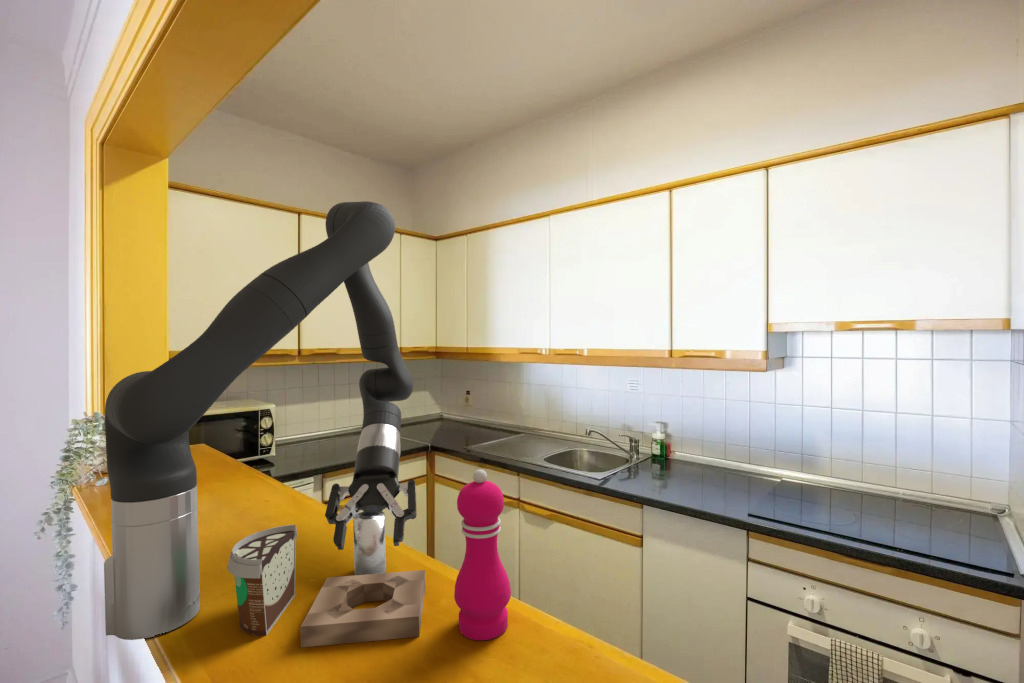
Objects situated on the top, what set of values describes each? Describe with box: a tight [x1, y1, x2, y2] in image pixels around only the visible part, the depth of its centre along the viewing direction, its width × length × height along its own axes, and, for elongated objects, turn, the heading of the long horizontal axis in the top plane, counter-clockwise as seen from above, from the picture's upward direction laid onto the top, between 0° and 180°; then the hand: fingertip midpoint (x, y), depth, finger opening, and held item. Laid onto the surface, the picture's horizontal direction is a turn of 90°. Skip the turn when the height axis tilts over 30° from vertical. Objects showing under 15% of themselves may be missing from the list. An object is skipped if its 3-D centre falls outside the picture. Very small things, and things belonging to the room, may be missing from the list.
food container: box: [227, 524, 298, 637], centre depth 64 cm, size 12×6×10 cm, turn 4°
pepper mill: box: [453, 469, 512, 641], centre depth 61 cm, size 7×7×20 cm
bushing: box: [352, 510, 387, 575], centre depth 76 cm, size 5×5×9 cm
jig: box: [300, 569, 426, 648], centre depth 64 cm, size 14×12×2 cm
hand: (368, 546), depth 75 cm, fingers open, 8 cm apart
